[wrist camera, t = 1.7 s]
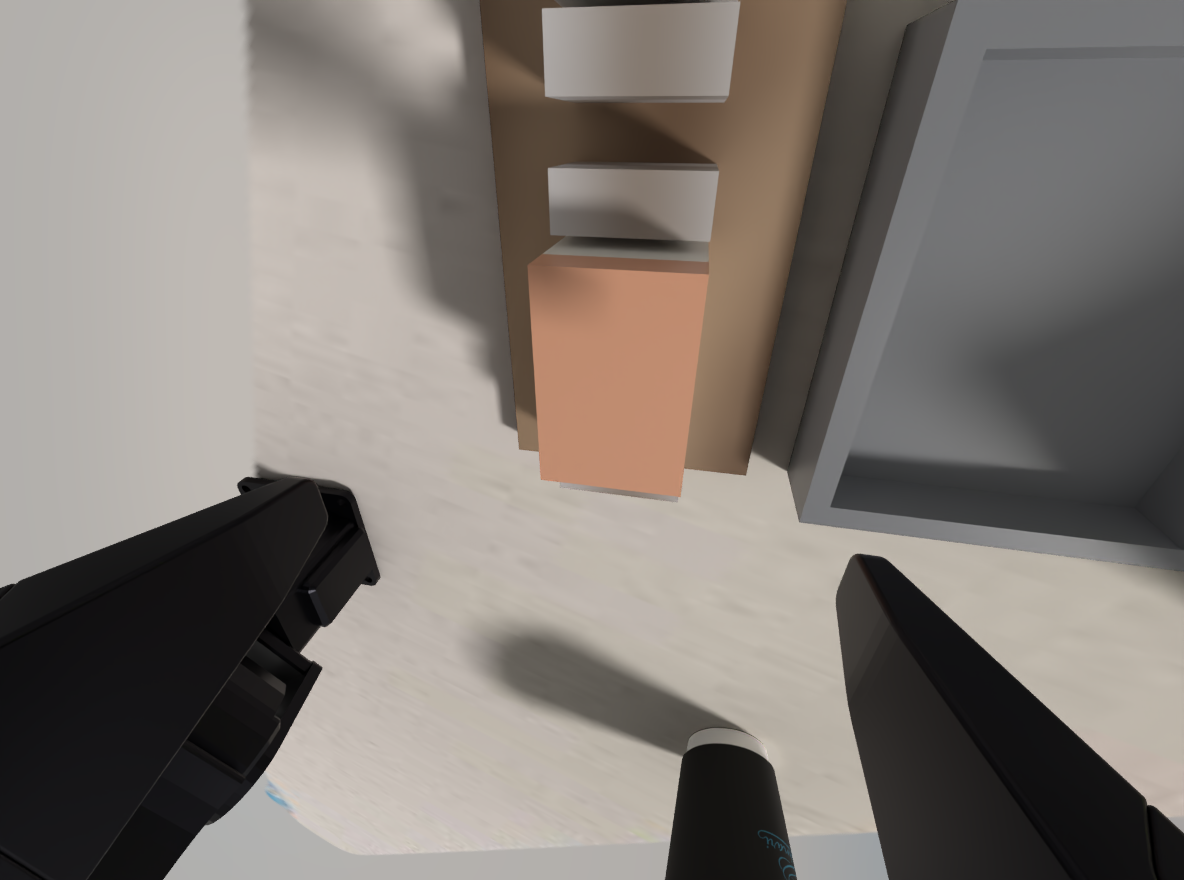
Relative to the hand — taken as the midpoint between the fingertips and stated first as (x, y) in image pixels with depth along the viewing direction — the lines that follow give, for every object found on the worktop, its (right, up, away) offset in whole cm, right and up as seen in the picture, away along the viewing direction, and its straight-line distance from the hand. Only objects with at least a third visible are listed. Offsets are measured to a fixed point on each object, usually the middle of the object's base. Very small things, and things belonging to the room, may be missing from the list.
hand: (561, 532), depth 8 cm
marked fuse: (+2, +5, +8) cm, 10 cm away
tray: (+14, +5, +7) cm, 16 cm away
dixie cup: (+9, -18, +23) cm, 30 cm away
